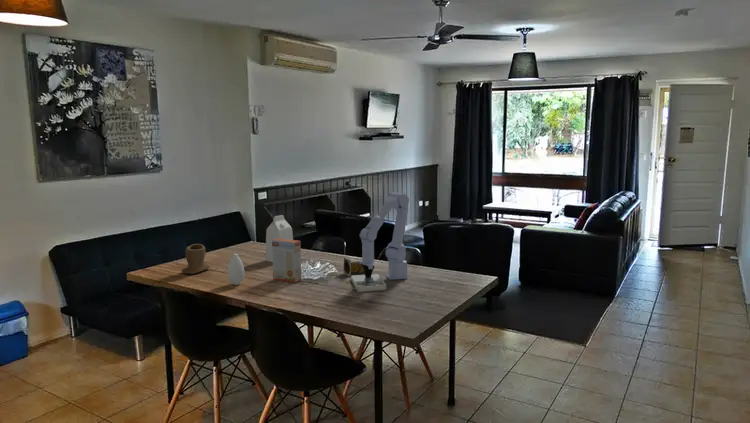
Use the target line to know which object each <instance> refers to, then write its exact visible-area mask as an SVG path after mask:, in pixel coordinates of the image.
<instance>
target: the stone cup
mask: <svg viewBox="0 0 750 423" xmlns="http://www.w3.org/2000/svg"><path fill="white" fill-rule="evenodd" d="M205 258H206V247H205V246H204V244H201V243H193V244H190V245H189V246H186V248H185V260H186V262H187V267H186V266H185V268H182V269H181V272H182V273H183V274H189V275H190V274H192V275H193V274H197V273H200V272H203V271H205V270H208V269H210V268H211V266H210V265H209V264H208V263H207V262H205Z"/></svg>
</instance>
